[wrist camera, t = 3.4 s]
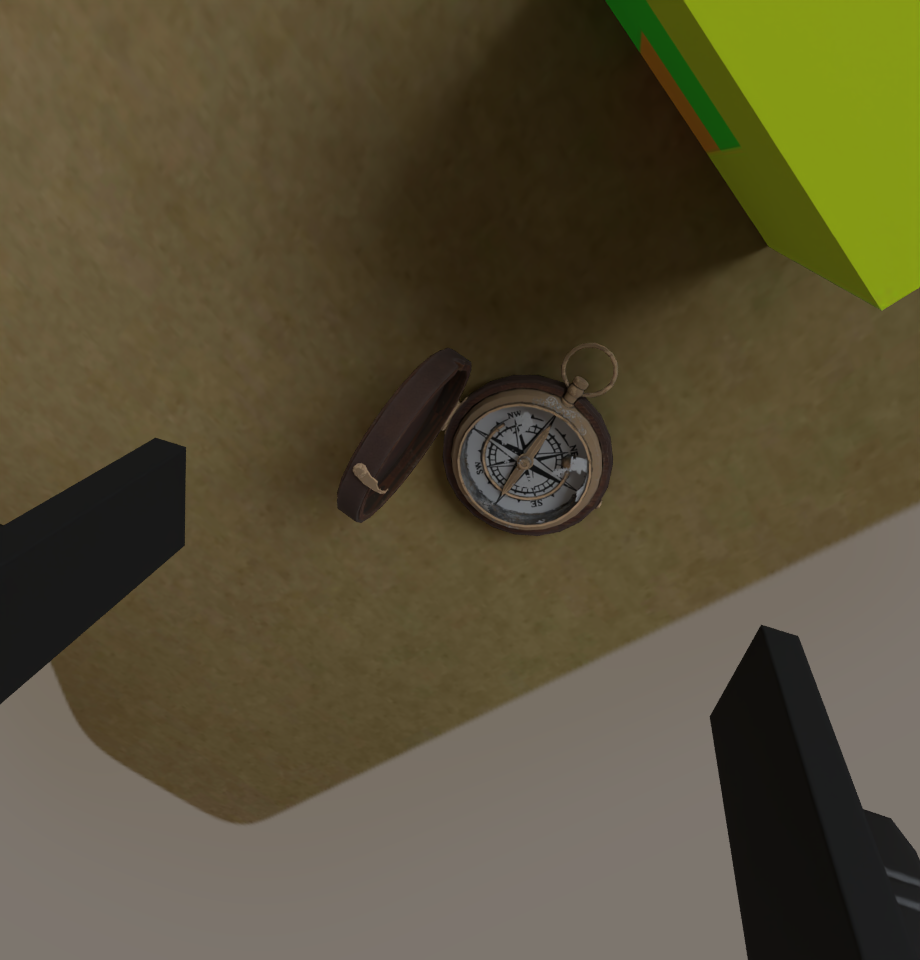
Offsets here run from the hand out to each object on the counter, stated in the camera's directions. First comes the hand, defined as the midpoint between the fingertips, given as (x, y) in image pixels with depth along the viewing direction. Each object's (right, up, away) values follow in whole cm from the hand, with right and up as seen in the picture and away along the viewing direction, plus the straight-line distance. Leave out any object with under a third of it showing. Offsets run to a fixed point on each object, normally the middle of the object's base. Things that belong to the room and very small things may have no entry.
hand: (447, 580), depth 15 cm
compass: (+3, +5, +9) cm, 11 cm away
